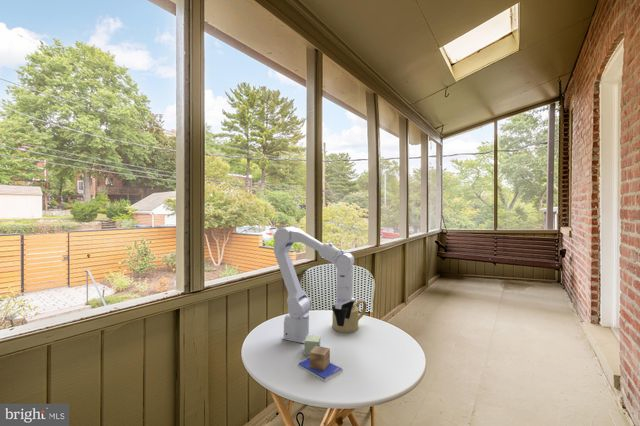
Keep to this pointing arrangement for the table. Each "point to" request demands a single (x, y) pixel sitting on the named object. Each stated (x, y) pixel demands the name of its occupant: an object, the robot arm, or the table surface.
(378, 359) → the table surface
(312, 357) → the walnut cube
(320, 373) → the hard drive
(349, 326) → the beige teapot
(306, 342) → the sage cube
